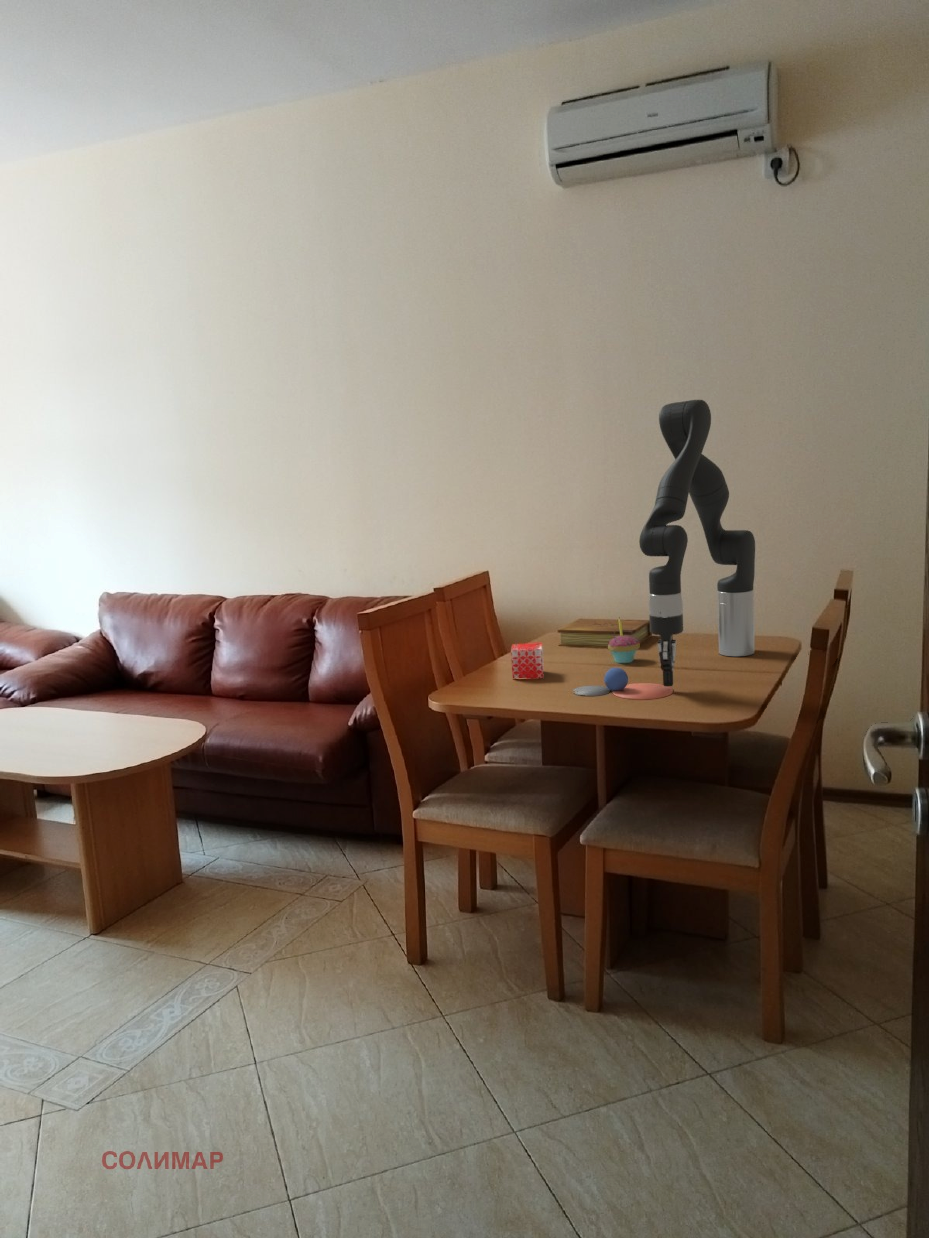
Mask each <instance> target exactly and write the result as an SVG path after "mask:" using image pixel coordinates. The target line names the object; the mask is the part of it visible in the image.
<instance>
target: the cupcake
mask: <svg viewBox="0 0 929 1238" xmlns="http://www.w3.org/2000/svg"><path fill="white" fill-rule="evenodd" d="M618 619H619V629H620V636H616V637H614V638H612V639H611V640H610V642H609V644H608V648H607V649H608V650H609V651H610V652H611V655H612V656H613V659H614V662H615V663H617V664H630V663H632V662H634V658H635V654H636V651H637V650H638V649H640V646H641V643H639V641H638V640H637V639H635V638H634V637H631V636H624V635H623V633H622V625H621V620H622V619H621V618H620V616H618Z"/></svg>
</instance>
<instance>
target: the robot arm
mask: <svg viewBox="0 0 929 1238" xmlns="http://www.w3.org/2000/svg"><path fill="white" fill-rule="evenodd" d="M658 423H659V428H660V431H661V435H662V436H663V438H664V442H665V443H666V445H667V447H668V449H669V450H670V452H671V454H672V456H673V457H674V460H673V462H672V464H670V466H669V467H668V468H667V470H666V471H665V473H663V476H662V477H661V479H660V481H659V484H658V488H657V492H656V496H655V501H654V506H653V508H652V511H651V513H650V515H649V516H648V518H647V520H646V522H645V524H644V526H643V528H642V529H641V532H640V535H639V549H640V550H641V552H642V554H644V555H645V556H646V557H668V559H667V562H666V564H664V565H660V566H655V567H653V568H651V569H650V570H649V573H648V583H649V584H648V585H649V587H648V588H649V597H648V598H649V599H648V600H649V601H648V613H649V615H648V616H649V618H648V620H650V632H651V633H652V635H656V636H657V635H658V636H660V639H658V641H657V650H658V657H659V663H660V669H661V670H662V685H664V686H669V687H673V686H674V668H675V659H676V648H677V647H676V646H677V639H675V638H674V635H679V634H682V633H683V632H684V613H683V611H684V609H683V605H684V604H683V597H682V581H681V579H682V577H681V576H682V575H681V574H682V568H683V562H684V559H685V554H686V551H687V546H688V543H689V542H688V541H689V540H688V534H687V532H686V530H685V529H684V527H683V526H681V525H679V524H678V525H676V524H670V523H673V522H677V521H680V520H681V519H683V518H684V516H685V513H686V509H687V503H688V499H689V496H690V499H691V502H692V504H693V505H694V508H695V511H696V513H697V515H698V518H699V520H700V523H701V527H702V529H703V534H704V536H705V540H706V544H707V547H708V551H709V553H710V556H711V558H712V560H713V562H714V563H716V564H718V565H723V566H736V571H735V572H734V573H733V574H731V575H729V576H726V577H723V578H720V579H719V580H718V581H717V587H716V588H717V589H716V590H717V591H716V592H717V620H718V621H717V623H718V624H717V625H718V628H717V629H718V653H719V654H720V655H722V656H727V657H745V656H751V655H753V654H755V603H754V602H755V599H754V594H755V593H754V591H755V590H754V583H755V571H756V570H755V567H756V565H755V563H756V540H755V536H754V534H753V532H752V531H750V530H745V529H741V530H740V529H738V530H737V529H732V530H731V529H730V530H729V529H728V530H726V529H724V527H723V526H722V524H721V523H722V522H721V519H722V516H723V514H724V511H725V509H726V507H727V505H728V501H729V498H730V491H729V487H728V484H727V481H726V479H725V476H724V474H723V472H722V469H721V468H720V467H719V466H718V465H717V464H716V463H714V462H713V461H712V460H711V459H709V458H708V457H707V456H706V455H704V454H703V450H704V448H705V445H706V443H707V439H708V436H709V434H710V430H711V424H712V413H711V408H710V406H709V405H708V403H707V402H706V401H705V400H703V399H691V400H685V401H678V402H677V401H676V402H671V403H667V404H665V405H663V406H662V407H661V408H660V411H659V414H658ZM668 524H669V525H668Z"/></svg>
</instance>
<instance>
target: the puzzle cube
mask: <svg viewBox="0 0 929 1238" xmlns="http://www.w3.org/2000/svg"><path fill="white" fill-rule="evenodd" d="M510 655H511V656H510V657H511V658H510V659H511V672H512V679H513V678H543V679H544V674H543V671H544V672H545V670H544V669H545V666H544V651H543V642H531V643H514V644H513V643H512V644H511V649H510Z"/></svg>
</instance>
